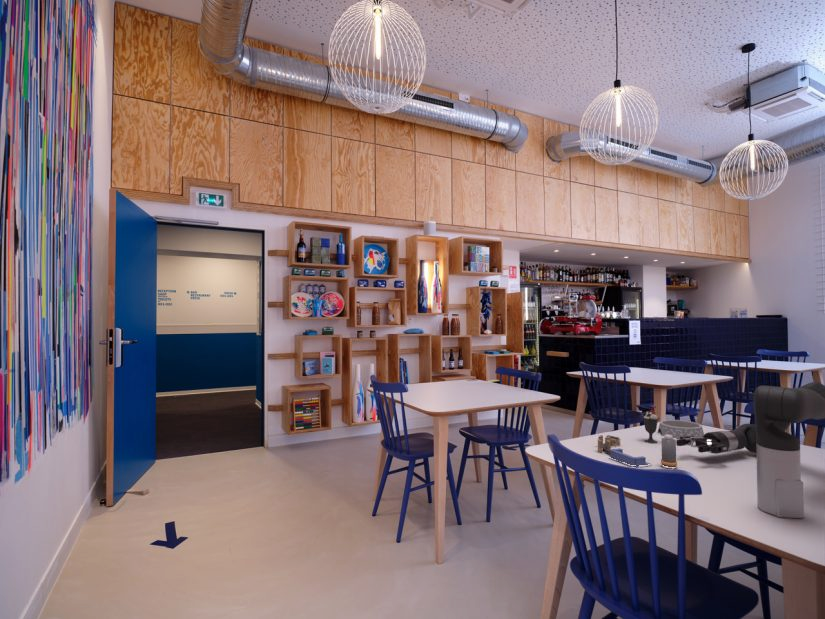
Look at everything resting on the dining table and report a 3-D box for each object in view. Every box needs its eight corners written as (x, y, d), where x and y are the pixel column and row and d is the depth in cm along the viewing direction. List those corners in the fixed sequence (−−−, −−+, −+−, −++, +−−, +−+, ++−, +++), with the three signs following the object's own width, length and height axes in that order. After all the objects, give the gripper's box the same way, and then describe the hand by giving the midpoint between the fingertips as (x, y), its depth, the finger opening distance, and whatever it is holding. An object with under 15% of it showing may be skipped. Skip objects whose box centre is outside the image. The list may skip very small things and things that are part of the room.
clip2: (611, 447, 181) (610, 436, 181) (608, 449, 179) (608, 438, 179) (600, 446, 184) (600, 435, 184) (598, 447, 181) (598, 436, 181)
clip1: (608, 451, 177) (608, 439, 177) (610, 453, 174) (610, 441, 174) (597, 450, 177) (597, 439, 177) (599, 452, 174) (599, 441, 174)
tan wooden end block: (609, 442, 188) (609, 434, 188) (620, 445, 185) (620, 436, 185) (605, 444, 186) (604, 436, 186) (615, 446, 182) (615, 438, 182)
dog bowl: (666, 439, 194) (665, 427, 194) (653, 429, 212) (653, 418, 212) (710, 442, 190) (710, 429, 190) (694, 431, 208) (694, 419, 208)
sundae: (662, 444, 186) (661, 407, 186) (644, 443, 187) (644, 407, 187) (657, 440, 192) (656, 404, 192) (640, 439, 194) (639, 404, 194)
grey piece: (680, 469, 155) (679, 437, 155) (664, 469, 155) (664, 436, 156) (673, 464, 160) (672, 433, 160) (658, 464, 160) (657, 433, 161)
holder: (625, 456, 170) (625, 447, 170) (651, 465, 159) (651, 456, 159) (609, 458, 167) (609, 449, 167) (634, 468, 156) (634, 458, 156)
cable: (611, 454, 170) (611, 451, 170) (601, 453, 172) (601, 450, 172) (613, 444, 185) (613, 441, 185) (603, 443, 186) (603, 440, 186)
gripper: (740, 457, 160) (706, 462, 154) (702, 447, 173) (670, 451, 168) (739, 436, 160) (706, 440, 154) (701, 427, 173) (670, 430, 168)
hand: (687, 446), depth 161 cm, fingers open, 8 cm apart
